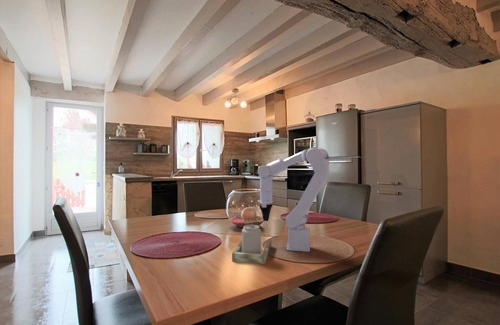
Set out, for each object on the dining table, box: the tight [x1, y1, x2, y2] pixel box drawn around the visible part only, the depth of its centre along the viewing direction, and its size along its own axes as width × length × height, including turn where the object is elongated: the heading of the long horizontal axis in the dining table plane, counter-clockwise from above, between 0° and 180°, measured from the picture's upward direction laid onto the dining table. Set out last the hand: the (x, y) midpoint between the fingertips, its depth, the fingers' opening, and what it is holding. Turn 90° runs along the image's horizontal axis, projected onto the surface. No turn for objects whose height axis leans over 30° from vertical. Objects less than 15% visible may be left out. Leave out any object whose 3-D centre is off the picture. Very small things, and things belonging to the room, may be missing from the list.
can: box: [241, 224, 262, 254], centre depth 103 cm, size 8×8×12 cm
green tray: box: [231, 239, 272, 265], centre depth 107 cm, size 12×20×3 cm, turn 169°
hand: (266, 220), depth 122 cm, fingers closed
